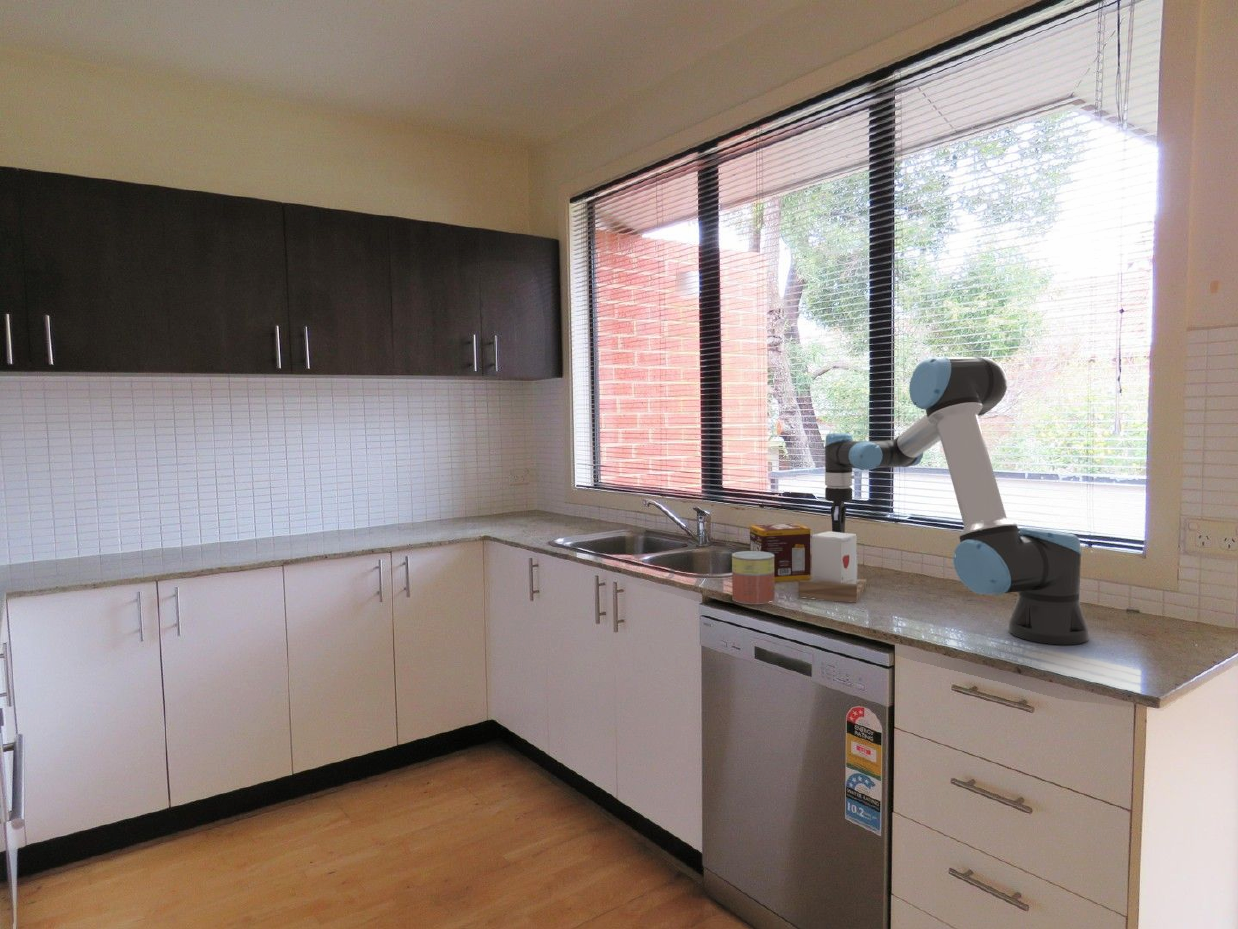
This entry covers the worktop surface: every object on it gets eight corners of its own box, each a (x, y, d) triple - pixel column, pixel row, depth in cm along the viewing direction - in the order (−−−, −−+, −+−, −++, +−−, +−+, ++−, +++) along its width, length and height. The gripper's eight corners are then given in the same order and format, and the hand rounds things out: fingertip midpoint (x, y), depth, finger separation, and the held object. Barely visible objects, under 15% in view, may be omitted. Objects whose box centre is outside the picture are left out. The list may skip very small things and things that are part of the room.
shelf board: (856, 602, 197) (856, 585, 197) (798, 597, 203) (798, 581, 203) (866, 584, 217) (866, 569, 217) (813, 580, 223) (812, 565, 223)
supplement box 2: (841, 594, 200) (841, 538, 199) (810, 589, 206) (810, 534, 205) (857, 588, 206) (857, 533, 205) (827, 583, 213) (827, 530, 212)
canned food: (753, 592, 211) (753, 549, 210) (783, 599, 202) (783, 555, 201) (723, 598, 204) (722, 554, 204) (752, 606, 195) (752, 560, 194)
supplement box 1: (749, 575, 232) (748, 525, 231) (796, 572, 235) (796, 522, 233) (761, 583, 222) (761, 530, 221) (811, 580, 224) (811, 527, 223)
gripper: (849, 489, 211) (849, 573, 213) (854, 484, 223) (854, 564, 224) (821, 488, 214) (821, 571, 216) (828, 484, 226) (828, 562, 227)
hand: (838, 567), depth 220 cm, fingers closed
